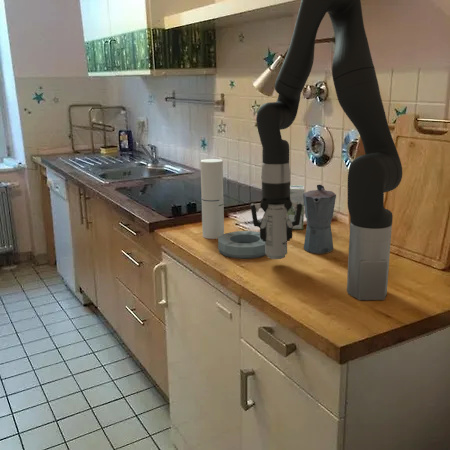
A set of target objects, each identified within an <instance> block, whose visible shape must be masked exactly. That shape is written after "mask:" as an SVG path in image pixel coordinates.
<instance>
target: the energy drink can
mask: <svg viewBox="0 0 450 450" xmlns="http://www.w3.org/2000/svg"><path fill="white" fill-rule="evenodd" d="M268 205H269V204H268ZM270 206H272V207H271V208H270ZM282 206H283V207H284V208H283V207H282ZM269 208H270V209H269ZM284 209H285V210H284ZM268 210H269V211H268ZM264 213H265V212H264ZM266 213H267V221H266V225H265V232H266V241H265V254H266V255H265V256H266V257H267V258H268V259H271V260H281V259H285V258H286V255H287V254H288V241H287V221H286V213H287V209H286V208H285V206H284V204H272V205H269V206H268V208H267V210H266ZM266 213H265V215H266Z"/></svg>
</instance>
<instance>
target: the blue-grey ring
mask: <svg viewBox="0 0 450 450" xmlns="http://www.w3.org/2000/svg"><path fill="white" fill-rule="evenodd" d="M217 240H218V241H217V249H218V253H219V254H220V255H222V256H225V257H228V258H232V259H238V260H239V259H240V260H241V259H242V260H243V259H244V260H247V259H258V258H261V257H265V256H267V255H266V254H265V242H263V239H262V240H261V238H260V231H254V230H237V231H231V232H224V234H223V235H221V236H219V237H218V239H217Z"/></svg>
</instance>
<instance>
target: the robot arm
mask: <svg viewBox="0 0 450 450" xmlns="http://www.w3.org/2000/svg"><path fill="white" fill-rule="evenodd" d="M326 14H328V17H329V18H330V21H331V24H332V29H333V33H334V40H335V43H334V45H335V46H334V54H333V57H332V66H331V76H332V80H333V81H332V82H333V86H334V89H335V93H336V97H337V101H338V103H339V106H340V107H341V109H342V111H343V112H344V113H345V115H346V116H347V118H348V119H349V121H350V123H352V124H353V127H355V129H356V130H357V132H358V133H359V136H360V139H361V143H362V146H363V147H362V148H363V151H364V154H363V155H362V154H361V155H358V156H357V157H356V158H354V159H353V160H352V162H351V163H350V166H349V168H348V172H347V173H348V174H347V209H348V213H349V216H350V220H349V221H350V222H349V223H350V224H349V239H348V240H349V242H348V257H347V259H348V260H347V280H346V292H347V294H348V295H349V296H351V297H353V298H355V299H357V300H358V301H385V300H386V297H387V295H388V294H387V293H388V282H389V267H390V256H391V255H390V254H391V239H392V231H393V230H392V228H393V215H394V214H393V213H392V211H391V210H389V209H387V208H385V205H384V204H385V203H384V200H385V199H384V196H385V195H384V194H385V193H388V192H392V191H394V190H395V189H396V188H398V187H399V185H400V184H401V182H402V180H403V179H402V178H403V166H402V160H401V158H400V156H399V153H398V150H397V147H396V145H395V141H394V139H393V136H392V133H391V130H390V127H389V123H388V120H387V115H386V112H385V108H384V104H383V99H382V96H381V92H380V91H381V90H380V85H379V82H378V77H377V73H376V69H375V66H374V65H375V64H374V61H373V59H372V53H371V50H370V47H369V46H370V45H369V42H368V37H367V33H366V28H365V25H364V17H363V10H362V2H361V0H301V1H300V4H299V9H298V12H297V16H296V20H295V24H294V28H293V32H292V36H291V39H290V42H289V43H290V44H289V47H288V49H287V51H286V55H285V58H284V60H283V63H282V65H281V67H280V70H279V72H278V74H277V77H276V79H275V82H274V91H275V92H276V93H277V94H278V95H277V100H276V101H272V102H266V103H265V102H264V103H262V105H261V106H259V108H258V110H257V112H256V120H255V122H256V128H257V132H258V136H259V139H260V143H261V147H262V149H261V150H262V166H261V201H260V202H259V203H254V202H252V203H250V210H251V218H252V224H253V226H254V227H257V228H259V232H260V238H261V240H262V239H263V242H265V241H266V232H265V225H266V221H267V213H266V210H267V208H268V206H269V205H272V204H284V206H285V208H286V209H287V212H288V211H289V209H290V208H291V206H293V209H294V210H295V216H294V220H293V221H290V219H289V217H288V215H287V213H286V221H287V242H289V241H291V240H292V239H293V229H292V228H293V226H296V225H299V223H300V216H301V210H302V204H301V203H300V202H297V203H295V202H291V200H290V186H291V166H290V145H289V141H287V140H286V139H283V138H282V133H281V130H285V129H288V128H290V127H291V126H292V124H293V123H294V121H295V120H296V118H297V116H298V115H297V114H298V111H299V107H300V102H301V101H300V100H301V96H302V95H301V94H302V92H303V90H304V88H305V86H306V83H307V81H308V79H309V77H310V74H311V72H312V69H313V65H314V61H315V60H314V59H315V48H316V47H315V46H316V45H315V44H316V38H317V35H318V34H317V33H318V30H319V27H320V25H321V23H322V21H323V19H324V17H325V16H326ZM268 204H269V205H268ZM271 207H272V206H270V208H271ZM282 207H283V206H282ZM260 208H261V209H262V211H263V212H264V214H263V216H262V218H261V220H260V221H259V220H258V216H257V213H258V212H259V211H260ZM270 208H269V209H270ZM283 208H284V207H283ZM284 210H285V209H284ZM268 211H269V210H268ZM265 213H266V215H265Z"/></svg>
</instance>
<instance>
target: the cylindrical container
mask: <svg viewBox="0 0 450 450" xmlns="http://www.w3.org/2000/svg"><path fill="white" fill-rule="evenodd" d="M223 164H224V162H223V159H220V158H206V159H201V160H200V190H201V191H200V194H201V196H200V198H201V227H202V228H201V229H202V237H203V238H204V239H209V240H215V239H216V240H218V237H219V236H221V235H223V234H225V216H224V214H225V212H224V211H225V210H224V208H225V207H224V200H225V199H224V165H223Z"/></svg>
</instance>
